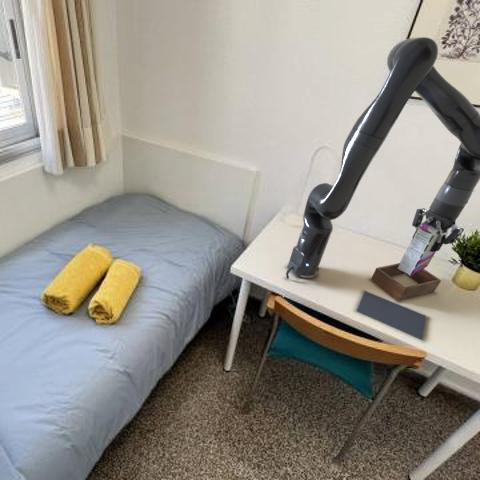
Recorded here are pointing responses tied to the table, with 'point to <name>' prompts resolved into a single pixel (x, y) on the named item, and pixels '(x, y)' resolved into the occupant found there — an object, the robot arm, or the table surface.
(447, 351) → the table surface
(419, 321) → the desk mat
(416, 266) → the candy bar box
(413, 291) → the desk box
